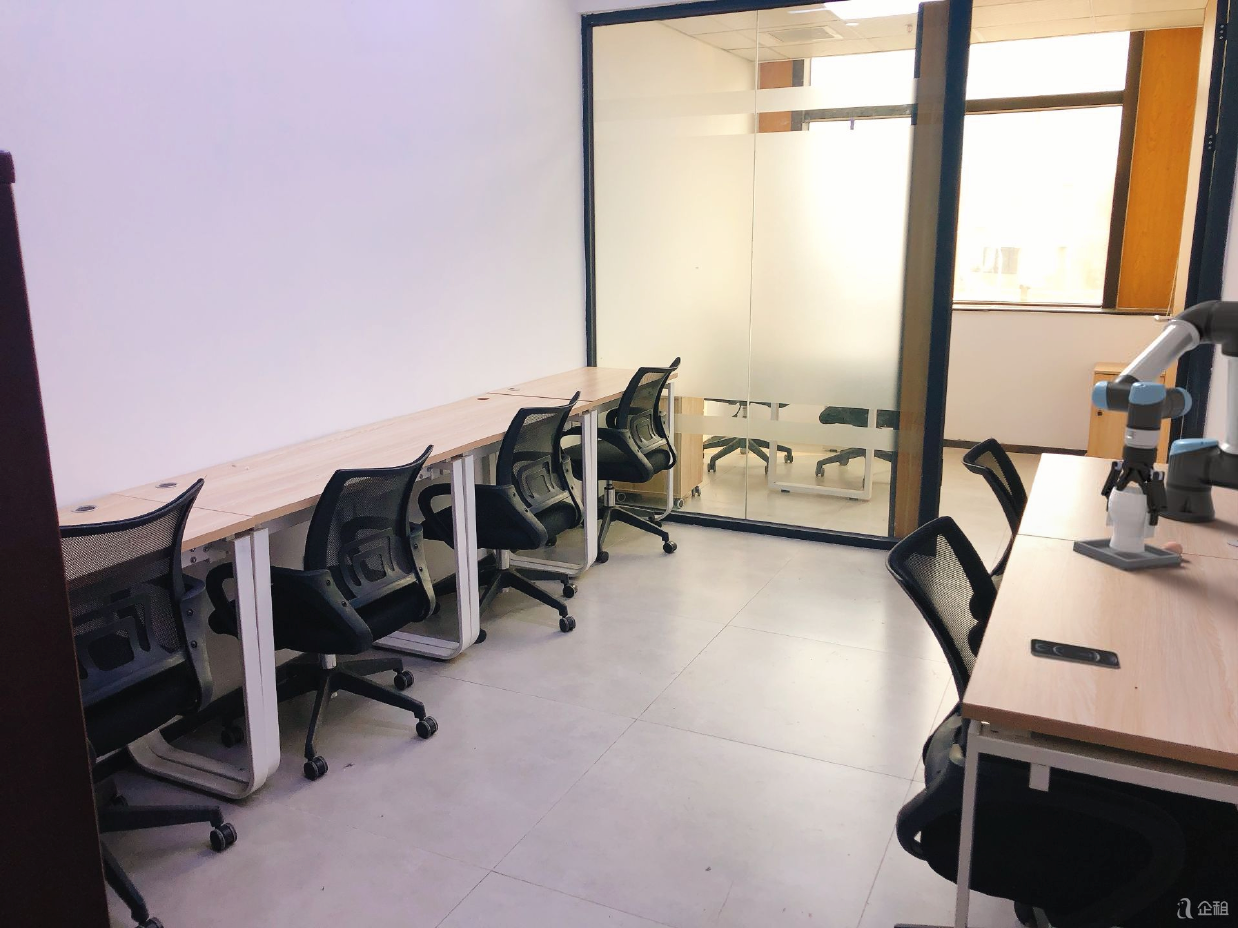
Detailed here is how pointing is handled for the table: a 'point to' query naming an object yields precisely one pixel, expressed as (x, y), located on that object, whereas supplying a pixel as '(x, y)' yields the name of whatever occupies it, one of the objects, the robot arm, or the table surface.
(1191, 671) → the table surface
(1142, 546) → the cup
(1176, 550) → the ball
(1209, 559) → the table surface
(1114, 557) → the tray
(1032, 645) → the smartphone
